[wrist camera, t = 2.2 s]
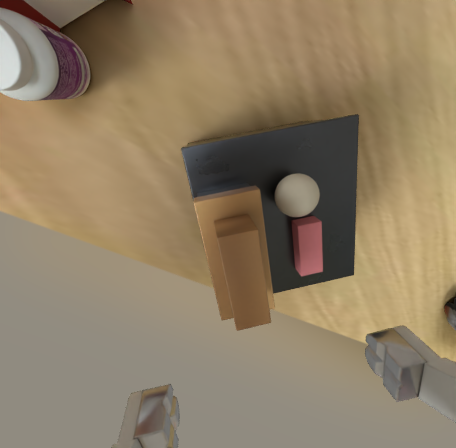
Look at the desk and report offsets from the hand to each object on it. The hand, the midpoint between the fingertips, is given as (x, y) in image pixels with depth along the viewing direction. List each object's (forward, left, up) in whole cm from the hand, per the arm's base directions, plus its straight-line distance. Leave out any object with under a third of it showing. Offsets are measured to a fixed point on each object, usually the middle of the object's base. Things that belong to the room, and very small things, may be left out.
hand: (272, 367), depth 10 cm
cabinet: (-4, -1, -22) cm, 22 cm away
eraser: (-6, +1, -12) cm, 13 cm away
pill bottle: (+12, -17, -21) cm, 30 cm away
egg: (-5, -4, -12) cm, 13 cm away
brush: (0, 0, -12) cm, 12 cm away
